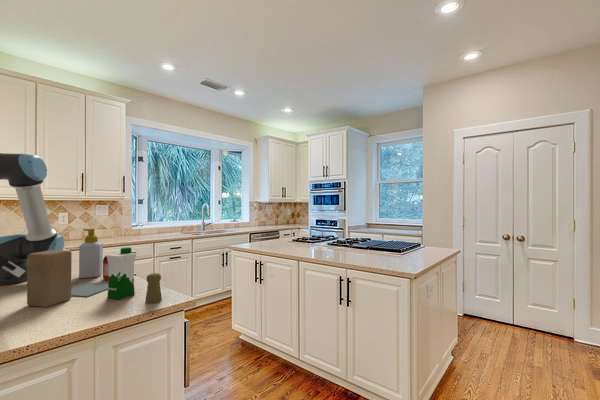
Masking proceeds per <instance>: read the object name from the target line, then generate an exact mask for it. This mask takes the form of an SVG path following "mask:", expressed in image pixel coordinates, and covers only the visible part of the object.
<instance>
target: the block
mask: <svg viewBox="0 0 600 400" xmlns="http://www.w3.org/2000/svg"><path fill="white" fill-rule="evenodd" d="M72 255H73V254H72V251H71V250H65V249H63V250H49V251H43V252H36V253H31V254H28V256H27V281H26V304H27V306H29V307H31V306H32V307H40V308H41V307H42V308H49V307H52V306H55V305H57V304H58V305H59V304H60V303H64V302H66V301H69V300H71V298H72V296H71V287H72V262H73V261H72V260H73V259H72Z"/></svg>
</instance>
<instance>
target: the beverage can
mask: <svg viewBox="0 0 600 400" xmlns="http://www.w3.org/2000/svg"><path fill="white" fill-rule="evenodd" d="M107 255H108V254H106V255H104V257H103V267H102V279H103V280H105V281H108V271H109V266H108V260H107Z"/></svg>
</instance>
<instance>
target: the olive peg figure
mask: <svg viewBox="0 0 600 400" xmlns="http://www.w3.org/2000/svg"><path fill="white" fill-rule="evenodd" d="M161 280H162V276H161V274H160V273H158V272H157V273H156V272H154V273H149V274H148V275H147V276H146V282H147V288H146V295H145V300H144V301H145V302H144V303H145V304H148V305H150V304H157V303H160V301H161V302H162V300H163V299H162V298H163V297H162V291H161V283H160V281H161Z"/></svg>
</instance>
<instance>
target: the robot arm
mask: <svg viewBox="0 0 600 400" xmlns="http://www.w3.org/2000/svg"><path fill="white" fill-rule="evenodd" d="M47 175H48V169H47V165H46V163H45V161H44V160H43V159H42V158H41V157H40V156H38V155H35V154H28V153H3V152H0V180H6V181H7V182H8V184H9V186H10V187H11V188H14V189H15V192H16V195H17V198H18V202H19V206H20V209H21V212H22V215H23V219H24V221H25V226H26V229H27V232H28V233H27V232H26V233H25V232H24V233H23V232H22V233H16V234H10V235H3V236H0V286H8V285H13V284H14V285H15V284H20V283H25V282H27V256H28V254H31V253H36V252H43V251H49V250H64V248H65V237H64V236H63V235H60V234H59V235H58V234H57V230H56V229H54V228H52V226H51V223H50V218H49V213H48V211H47V207H46V203H45V202H46V201H45V199H44V195H43V191H42V187H41V185H42V184H44V180H45V179H46V178H47Z"/></svg>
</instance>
